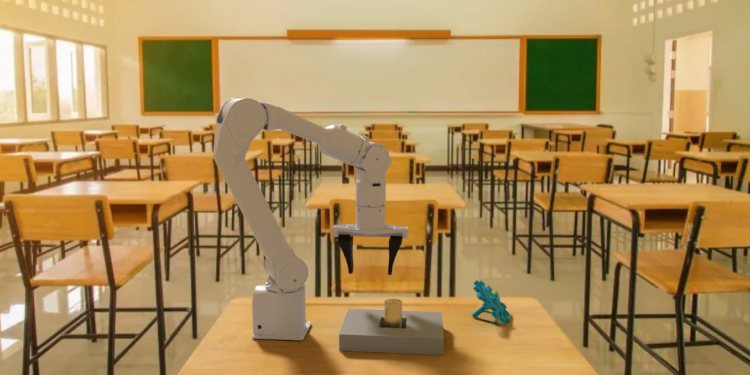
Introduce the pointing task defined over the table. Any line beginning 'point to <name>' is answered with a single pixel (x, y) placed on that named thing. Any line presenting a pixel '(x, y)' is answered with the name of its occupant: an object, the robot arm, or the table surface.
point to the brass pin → (392, 313)
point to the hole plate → (392, 333)
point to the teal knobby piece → (490, 302)
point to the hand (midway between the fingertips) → (370, 272)
